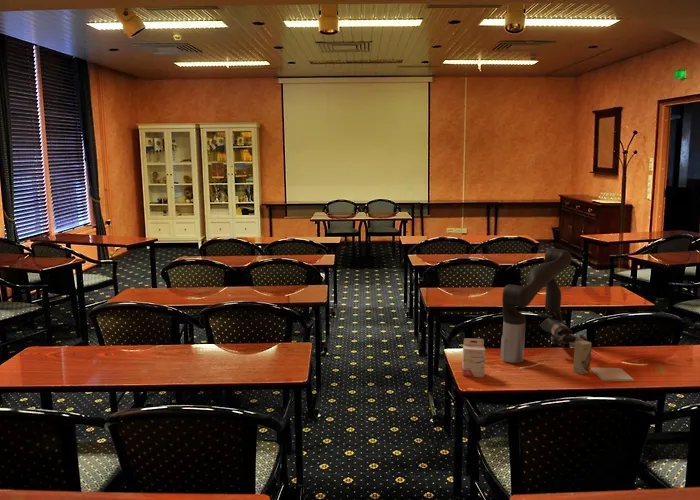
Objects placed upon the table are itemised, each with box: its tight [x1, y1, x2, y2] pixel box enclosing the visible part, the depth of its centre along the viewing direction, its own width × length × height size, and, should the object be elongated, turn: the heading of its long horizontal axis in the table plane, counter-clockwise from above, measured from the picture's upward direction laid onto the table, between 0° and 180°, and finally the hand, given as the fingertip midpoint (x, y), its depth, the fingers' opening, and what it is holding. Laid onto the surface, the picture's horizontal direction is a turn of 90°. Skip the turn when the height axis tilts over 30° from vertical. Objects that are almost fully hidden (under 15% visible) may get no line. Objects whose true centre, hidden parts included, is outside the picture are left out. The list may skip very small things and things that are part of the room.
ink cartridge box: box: [461, 337, 486, 378], centre depth 226 cm, size 9×5×15 cm, turn 84°
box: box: [572, 340, 592, 375], centre depth 228 cm, size 5×4×13 cm
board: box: [590, 367, 634, 382], centre depth 226 cm, size 12×12×1 cm
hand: (574, 345), depth 238 cm, fingers open, 8 cm apart
